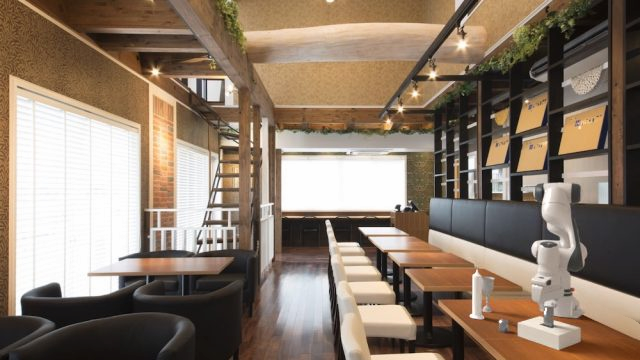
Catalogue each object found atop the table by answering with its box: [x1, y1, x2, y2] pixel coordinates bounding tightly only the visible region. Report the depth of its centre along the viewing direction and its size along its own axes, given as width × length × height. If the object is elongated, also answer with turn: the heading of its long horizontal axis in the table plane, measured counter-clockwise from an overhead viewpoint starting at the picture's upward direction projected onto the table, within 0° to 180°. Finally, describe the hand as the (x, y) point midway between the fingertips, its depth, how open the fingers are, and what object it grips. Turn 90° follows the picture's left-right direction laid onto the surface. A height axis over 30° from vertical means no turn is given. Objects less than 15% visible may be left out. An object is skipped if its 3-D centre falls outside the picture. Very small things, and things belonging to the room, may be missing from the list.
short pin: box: [498, 318, 509, 334], centre depth 187 cm, size 4×4×5 cm
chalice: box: [482, 276, 495, 313], centre depth 217 cm, size 7×7×18 cm
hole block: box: [517, 315, 582, 351], centre depth 178 cm, size 18×18×6 cm
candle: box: [469, 268, 485, 320], centre depth 206 cm, size 7×7×25 cm
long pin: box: [543, 306, 555, 328], centre depth 178 cm, size 4×4×14 cm
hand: (548, 309), depth 178 cm, fingers open, 8 cm apart
